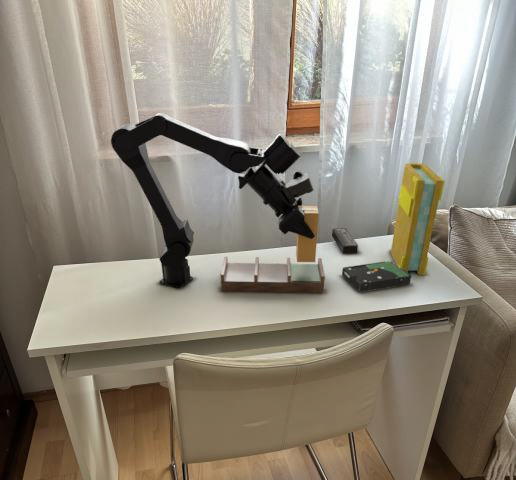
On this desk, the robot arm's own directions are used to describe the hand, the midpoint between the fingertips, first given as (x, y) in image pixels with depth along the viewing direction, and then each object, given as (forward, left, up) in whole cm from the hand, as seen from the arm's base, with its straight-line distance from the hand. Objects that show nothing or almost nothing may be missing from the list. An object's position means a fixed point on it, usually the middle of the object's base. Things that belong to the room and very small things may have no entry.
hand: (312, 233), depth 123 cm
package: (-1, -1, -7) cm, 7 cm away
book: (+19, +25, -14) cm, 34 cm away
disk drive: (+15, +9, -14) cm, 22 cm away
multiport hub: (-1, +29, -14) cm, 32 cm away
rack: (-8, -5, -13) cm, 17 cm away
